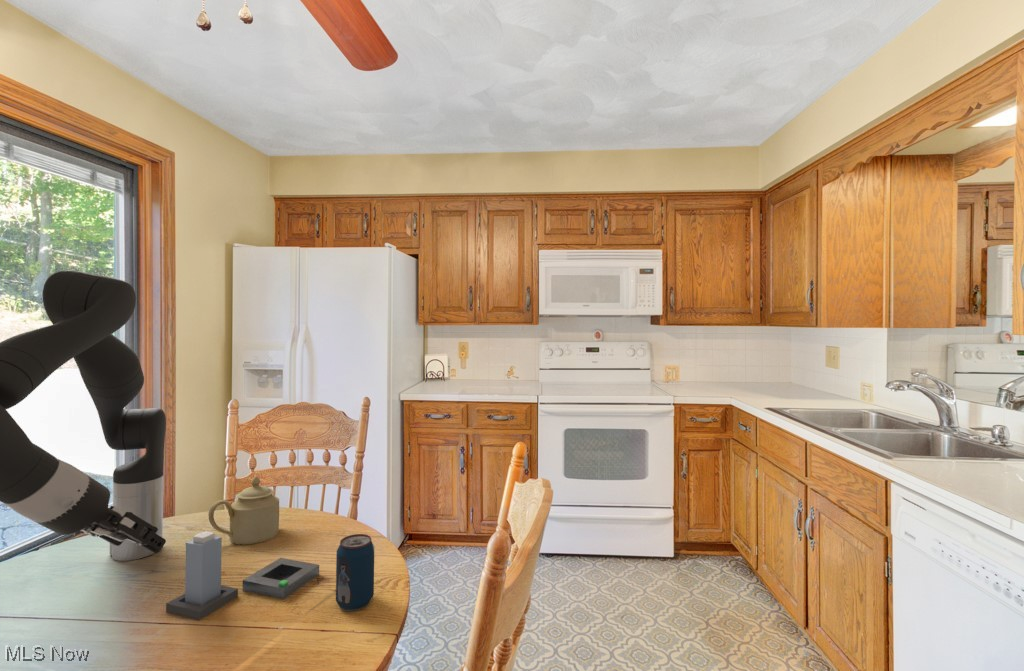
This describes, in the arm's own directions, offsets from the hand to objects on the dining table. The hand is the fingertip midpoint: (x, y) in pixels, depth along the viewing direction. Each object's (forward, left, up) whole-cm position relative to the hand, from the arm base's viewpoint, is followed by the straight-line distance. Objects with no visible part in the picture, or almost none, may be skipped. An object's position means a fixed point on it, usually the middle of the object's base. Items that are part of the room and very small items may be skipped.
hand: (141, 543), depth 78 cm
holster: (0, +11, -17) cm, 20 cm away
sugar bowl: (-16, +37, -17) cm, 44 cm away
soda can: (+26, +21, -17) cm, 38 cm away
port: (+8, +22, -17) cm, 29 cm away
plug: (0, +11, -16) cm, 20 cm away
